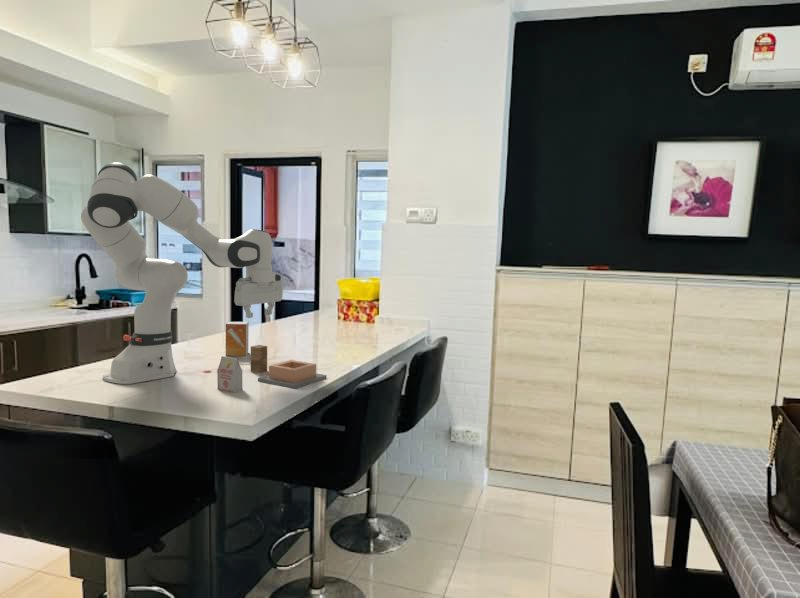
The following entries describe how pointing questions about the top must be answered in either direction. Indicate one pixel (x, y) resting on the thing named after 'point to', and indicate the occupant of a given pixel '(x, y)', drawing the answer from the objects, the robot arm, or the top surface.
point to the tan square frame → (292, 374)
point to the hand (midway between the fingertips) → (259, 316)
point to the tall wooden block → (258, 358)
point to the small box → (237, 338)
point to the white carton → (229, 375)
